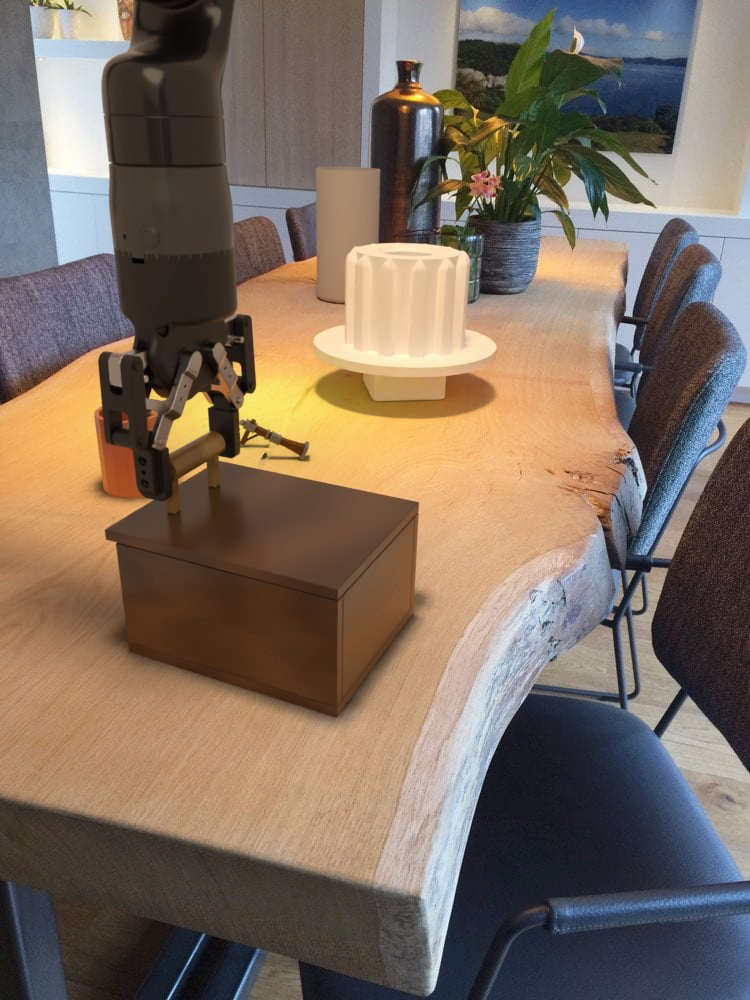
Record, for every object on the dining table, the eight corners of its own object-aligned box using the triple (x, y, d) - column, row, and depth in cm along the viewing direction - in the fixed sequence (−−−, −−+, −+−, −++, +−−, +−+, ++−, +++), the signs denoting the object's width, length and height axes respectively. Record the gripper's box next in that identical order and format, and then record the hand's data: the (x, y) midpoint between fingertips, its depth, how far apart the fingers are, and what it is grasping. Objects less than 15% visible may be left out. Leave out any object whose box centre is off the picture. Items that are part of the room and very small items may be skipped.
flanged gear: (323, 422, 103) (323, 267, 95) (306, 366, 126) (305, 236, 118) (515, 416, 107) (530, 267, 99) (466, 363, 130) (475, 237, 121)
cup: (94, 507, 80) (82, 419, 76) (120, 481, 86) (110, 398, 82) (157, 512, 80) (148, 424, 76) (179, 485, 85) (172, 402, 81)
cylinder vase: (304, 296, 172) (303, 167, 162) (349, 289, 180) (351, 166, 169) (343, 307, 164) (344, 171, 153) (389, 299, 172) (393, 170, 161)
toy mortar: (228, 446, 93) (243, 411, 91) (294, 473, 95) (310, 439, 93) (226, 452, 91) (241, 417, 89) (293, 480, 93) (309, 445, 91)
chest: (128, 651, 59) (115, 543, 56) (232, 566, 71) (227, 471, 67) (336, 717, 53) (337, 601, 50) (413, 613, 65) (418, 512, 61)
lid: (105, 540, 56) (96, 471, 54) (218, 469, 67) (215, 410, 65) (337, 600, 50) (337, 526, 47) (419, 511, 61) (422, 448, 59)
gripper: (191, 224, 60) (206, 435, 67) (46, 250, 48) (82, 503, 55) (282, 232, 57) (287, 451, 64) (152, 261, 45) (176, 526, 52)
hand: (193, 475), depth 59 cm, fingers open, 8 cm apart
